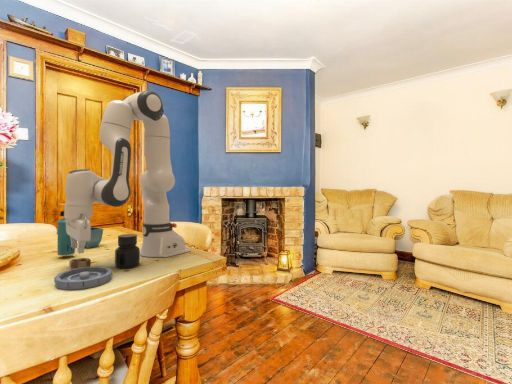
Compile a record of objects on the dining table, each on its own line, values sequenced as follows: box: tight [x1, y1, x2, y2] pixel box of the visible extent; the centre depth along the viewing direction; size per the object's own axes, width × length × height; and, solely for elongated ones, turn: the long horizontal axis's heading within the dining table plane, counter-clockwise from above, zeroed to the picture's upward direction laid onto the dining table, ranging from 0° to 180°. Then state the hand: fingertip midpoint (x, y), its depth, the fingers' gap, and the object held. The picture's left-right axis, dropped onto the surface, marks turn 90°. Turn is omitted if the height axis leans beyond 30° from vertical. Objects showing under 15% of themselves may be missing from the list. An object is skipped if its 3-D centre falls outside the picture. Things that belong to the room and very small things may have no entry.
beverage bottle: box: [56, 210, 76, 257], centre depth 125 cm, size 6×7×20 cm
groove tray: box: [54, 265, 113, 291], centre depth 97 cm, size 16×16×3 cm
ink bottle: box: [114, 233, 141, 270], centre depth 115 cm, size 10×9×12 cm
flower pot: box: [84, 226, 104, 249], centre depth 145 cm, size 9×9×9 cm
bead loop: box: [68, 257, 92, 270], centre depth 109 cm, size 6×6×4 cm
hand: (77, 250), depth 108 cm, fingers open, 8 cm apart
